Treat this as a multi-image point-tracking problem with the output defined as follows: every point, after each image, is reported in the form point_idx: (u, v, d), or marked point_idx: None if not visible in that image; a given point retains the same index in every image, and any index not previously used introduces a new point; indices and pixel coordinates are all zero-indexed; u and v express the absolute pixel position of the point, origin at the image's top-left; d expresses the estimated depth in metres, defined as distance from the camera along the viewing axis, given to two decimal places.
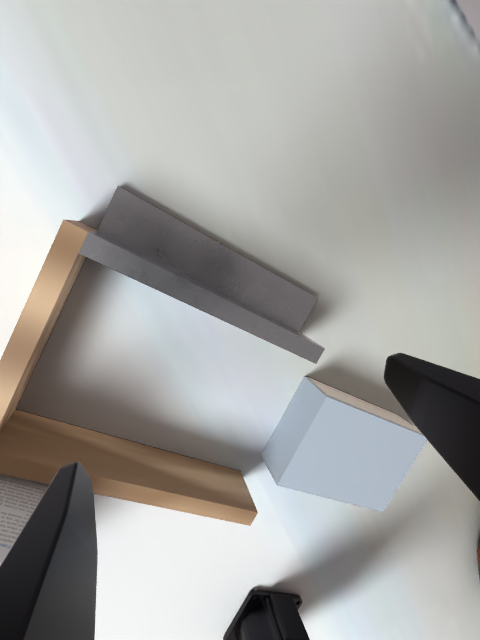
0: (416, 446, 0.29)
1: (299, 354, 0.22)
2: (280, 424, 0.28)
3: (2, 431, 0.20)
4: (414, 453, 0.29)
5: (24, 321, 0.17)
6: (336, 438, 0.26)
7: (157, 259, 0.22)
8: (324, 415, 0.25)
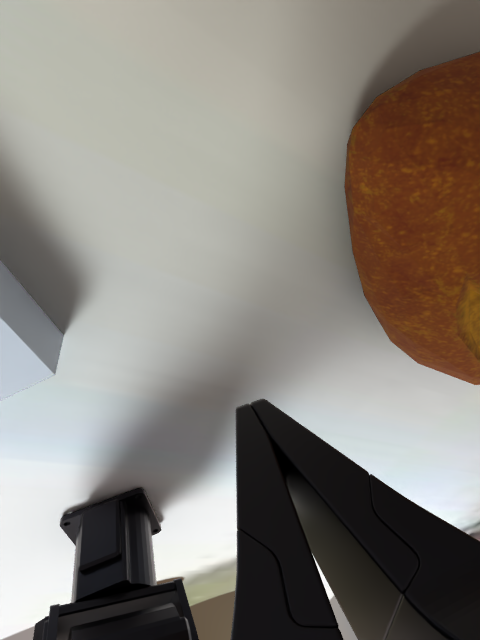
0: None
1: None
2: None
3: None
4: None
5: None
6: None
7: None
8: None
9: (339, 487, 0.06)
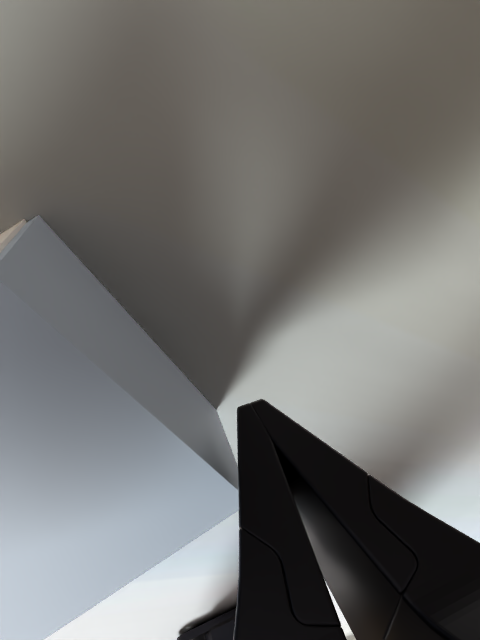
0: (14, 357, 0.05)
1: None
2: None
3: None
4: (58, 376, 0.05)
5: None
6: None
7: None
8: None
9: (338, 488, 0.06)
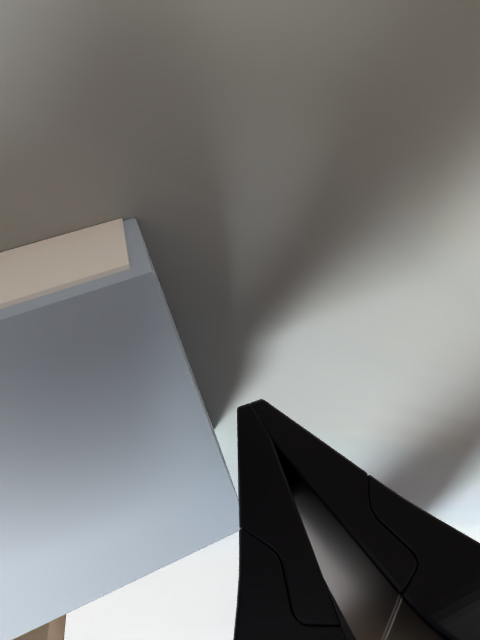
0: (130, 347, 0.05)
1: None
2: None
3: None
4: (155, 372, 0.06)
5: None
6: None
7: None
8: None
9: (338, 488, 0.06)
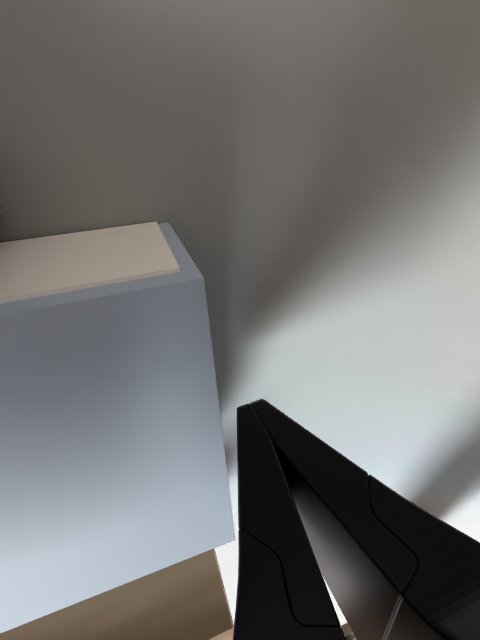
0: (167, 347, 0.06)
1: None
2: None
3: None
4: (184, 374, 0.06)
5: None
6: None
7: None
8: None
9: (338, 488, 0.06)
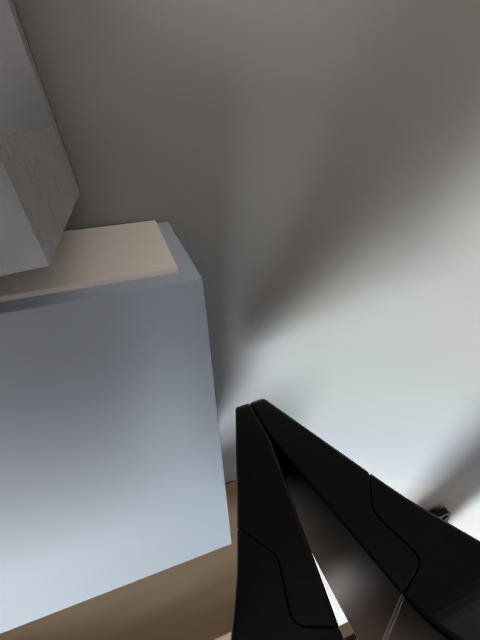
0: (164, 349, 0.05)
1: None
2: None
3: None
4: (181, 377, 0.06)
5: None
6: None
7: None
8: None
9: (339, 487, 0.06)
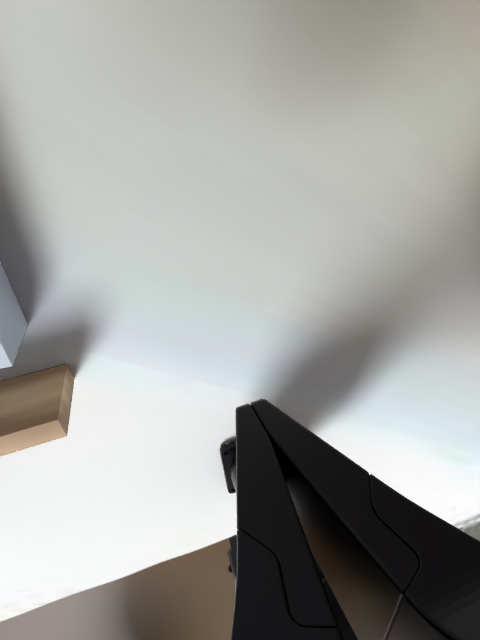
0: None
1: None
2: None
3: None
4: None
5: None
6: None
7: None
8: None
9: (339, 487, 0.06)
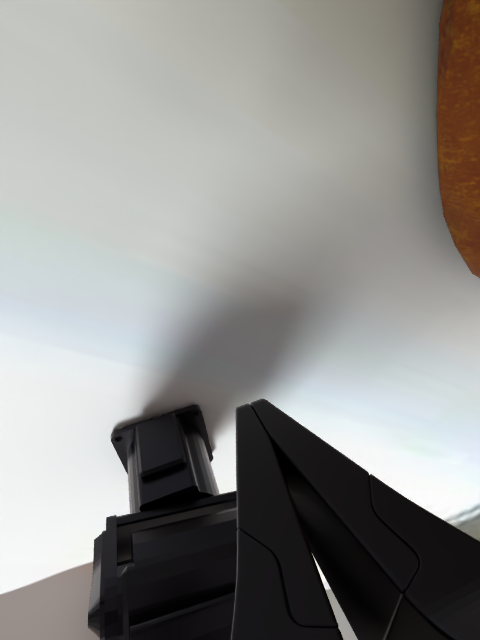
0: None
1: None
2: None
3: None
4: None
5: None
6: None
7: None
8: None
9: (339, 487, 0.06)
